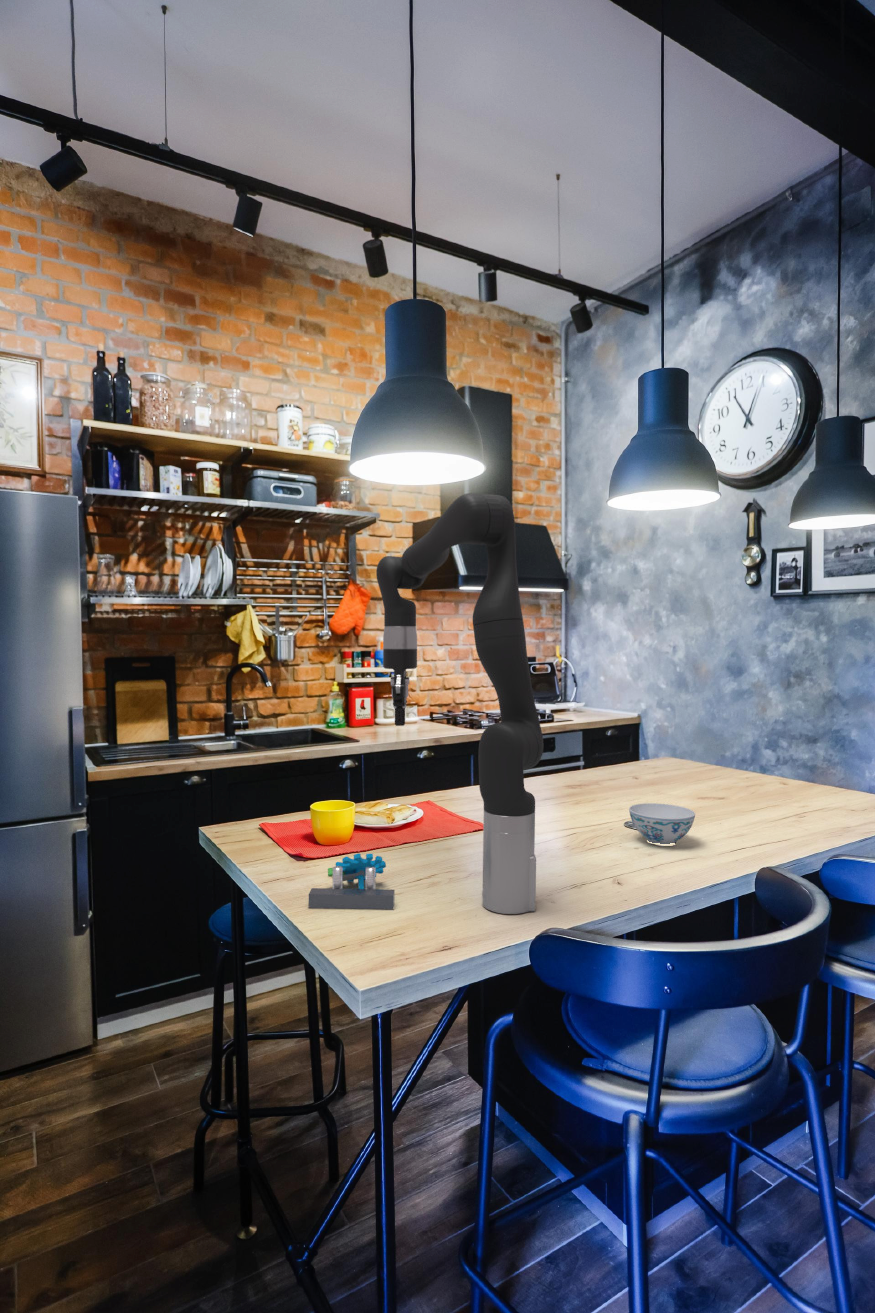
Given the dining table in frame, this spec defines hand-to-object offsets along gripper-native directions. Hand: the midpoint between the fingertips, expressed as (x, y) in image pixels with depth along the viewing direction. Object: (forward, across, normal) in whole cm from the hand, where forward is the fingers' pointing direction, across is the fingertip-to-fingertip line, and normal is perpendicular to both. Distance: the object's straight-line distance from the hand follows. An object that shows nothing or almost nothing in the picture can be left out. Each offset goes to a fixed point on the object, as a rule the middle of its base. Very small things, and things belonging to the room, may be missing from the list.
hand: (399, 725), depth 159 cm
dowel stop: (+29, -30, +6) cm, 42 cm away
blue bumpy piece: (+29, -22, +7) cm, 37 cm away
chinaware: (+29, +13, -62) cm, 69 cm away
